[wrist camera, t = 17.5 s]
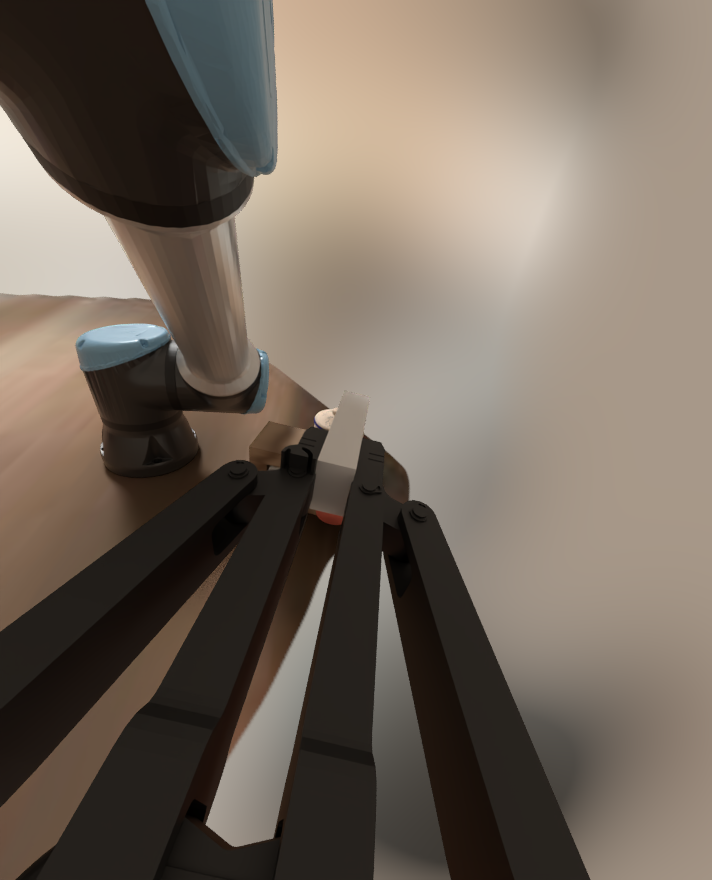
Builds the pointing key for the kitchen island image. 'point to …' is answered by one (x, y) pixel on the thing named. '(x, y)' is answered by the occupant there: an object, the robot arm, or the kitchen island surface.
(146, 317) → the kitchen island surface
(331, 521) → the red plug
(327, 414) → the teacup with lid
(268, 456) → the walnut plug block
